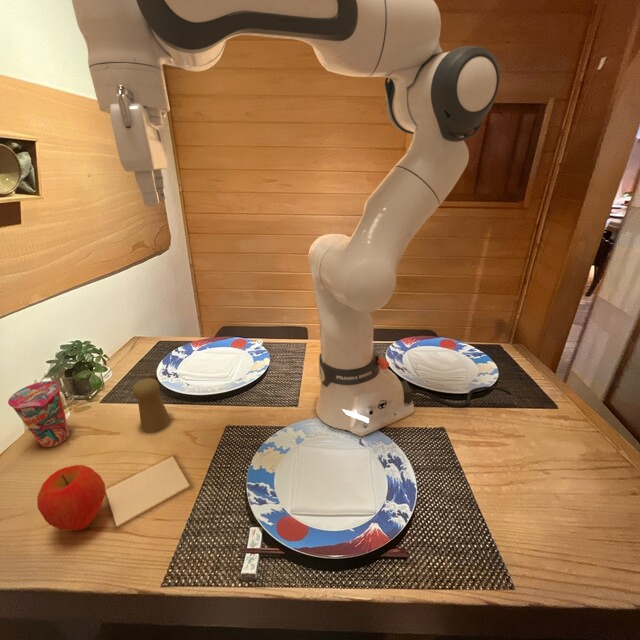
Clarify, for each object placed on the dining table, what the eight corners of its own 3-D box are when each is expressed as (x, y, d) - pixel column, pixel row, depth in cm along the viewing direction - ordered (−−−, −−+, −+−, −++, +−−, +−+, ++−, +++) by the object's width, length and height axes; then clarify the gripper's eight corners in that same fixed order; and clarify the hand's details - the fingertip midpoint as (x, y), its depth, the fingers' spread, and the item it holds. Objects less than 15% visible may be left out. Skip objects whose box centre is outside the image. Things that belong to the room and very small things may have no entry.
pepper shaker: (160, 434, 77) (147, 392, 72) (135, 430, 78) (121, 389, 73) (175, 415, 82) (165, 375, 77) (152, 412, 83) (140, 373, 79)
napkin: (173, 457, 71) (172, 455, 71) (189, 486, 64) (189, 485, 64) (106, 491, 64) (105, 489, 64) (117, 527, 58) (116, 526, 57)
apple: (123, 499, 62) (106, 453, 58) (96, 547, 55) (73, 499, 50) (75, 500, 63) (54, 454, 58) (41, 549, 55) (13, 500, 50)
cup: (20, 450, 74) (-4, 403, 69) (56, 422, 81) (37, 378, 76) (56, 457, 72) (34, 409, 67) (90, 428, 79) (72, 383, 74)
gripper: (147, 81, 40) (173, 209, 46) (165, 106, 58) (182, 196, 64) (84, 81, 38) (119, 213, 44) (122, 107, 56) (144, 198, 62)
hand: (156, 203), depth 54 cm, fingers open, 8 cm apart
